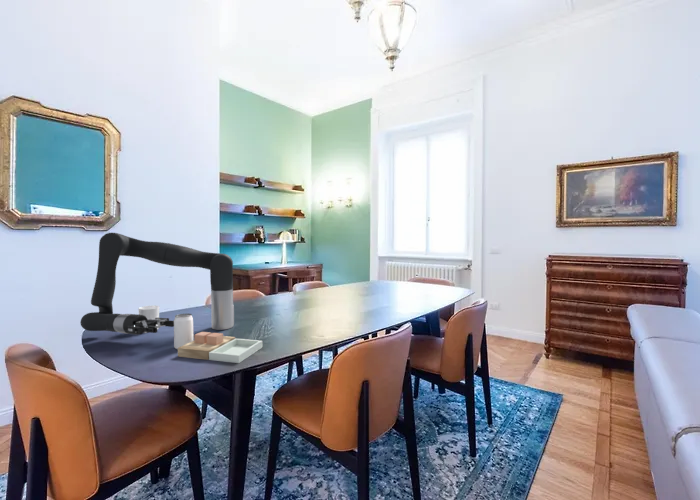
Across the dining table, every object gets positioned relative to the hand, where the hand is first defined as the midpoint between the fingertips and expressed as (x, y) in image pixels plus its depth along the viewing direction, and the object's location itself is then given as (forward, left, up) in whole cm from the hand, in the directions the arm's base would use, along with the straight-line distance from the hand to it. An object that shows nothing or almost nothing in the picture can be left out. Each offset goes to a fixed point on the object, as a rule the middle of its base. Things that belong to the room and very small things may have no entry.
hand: (165, 326), depth 128 cm
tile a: (+1, +17, -4) cm, 18 cm away
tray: (+1, +31, -7) cm, 32 cm away
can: (0, +8, -7) cm, 11 cm away
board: (+1, +19, -7) cm, 20 cm away
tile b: (+1, +22, -4) cm, 22 cm away
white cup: (-15, -22, -7) cm, 28 cm away
